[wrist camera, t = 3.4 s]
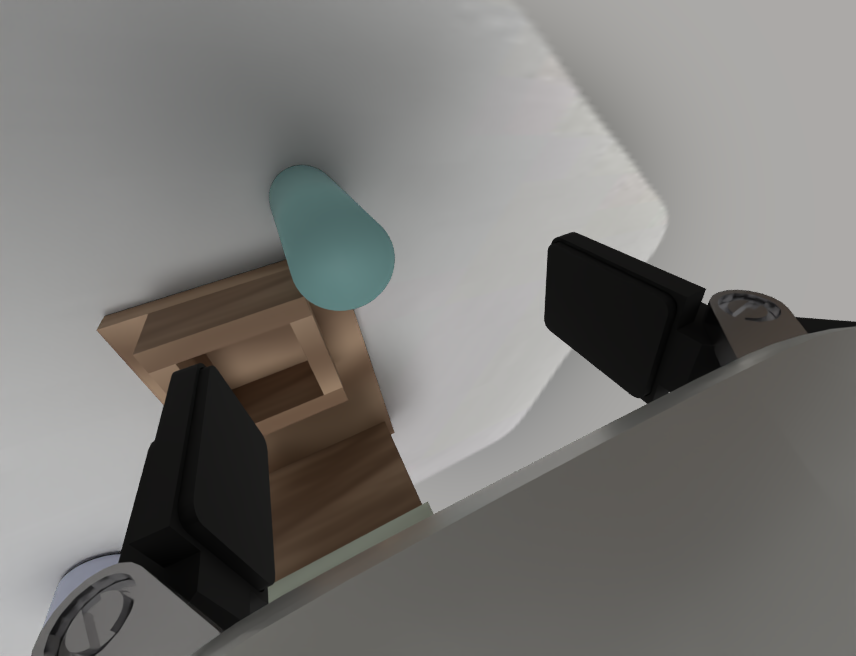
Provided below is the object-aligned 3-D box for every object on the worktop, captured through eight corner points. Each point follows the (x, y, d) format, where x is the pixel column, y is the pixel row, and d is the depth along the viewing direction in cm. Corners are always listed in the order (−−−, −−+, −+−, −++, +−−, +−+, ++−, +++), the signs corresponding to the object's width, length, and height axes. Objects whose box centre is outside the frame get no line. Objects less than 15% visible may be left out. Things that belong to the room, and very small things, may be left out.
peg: (256, 175, 20) (271, 230, 12) (327, 157, 21) (382, 198, 13) (285, 242, 22) (311, 324, 15) (347, 224, 23) (403, 291, 16)
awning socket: (104, 316, 20) (-46, 580, 9) (329, 245, 23) (412, 382, 13) (248, 484, 31) (256, 697, 20) (389, 421, 34) (460, 575, 23)
